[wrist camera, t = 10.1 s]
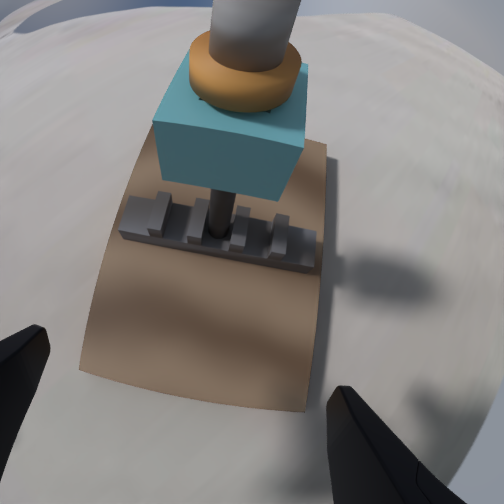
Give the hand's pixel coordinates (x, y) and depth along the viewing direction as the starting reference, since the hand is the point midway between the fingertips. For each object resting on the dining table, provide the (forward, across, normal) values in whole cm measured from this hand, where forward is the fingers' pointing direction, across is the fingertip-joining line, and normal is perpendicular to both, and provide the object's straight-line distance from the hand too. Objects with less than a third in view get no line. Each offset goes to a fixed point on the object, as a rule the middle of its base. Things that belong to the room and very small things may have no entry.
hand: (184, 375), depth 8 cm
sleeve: (+6, 0, -6) cm, 8 cm away
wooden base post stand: (+13, 0, +2) cm, 14 cm away
